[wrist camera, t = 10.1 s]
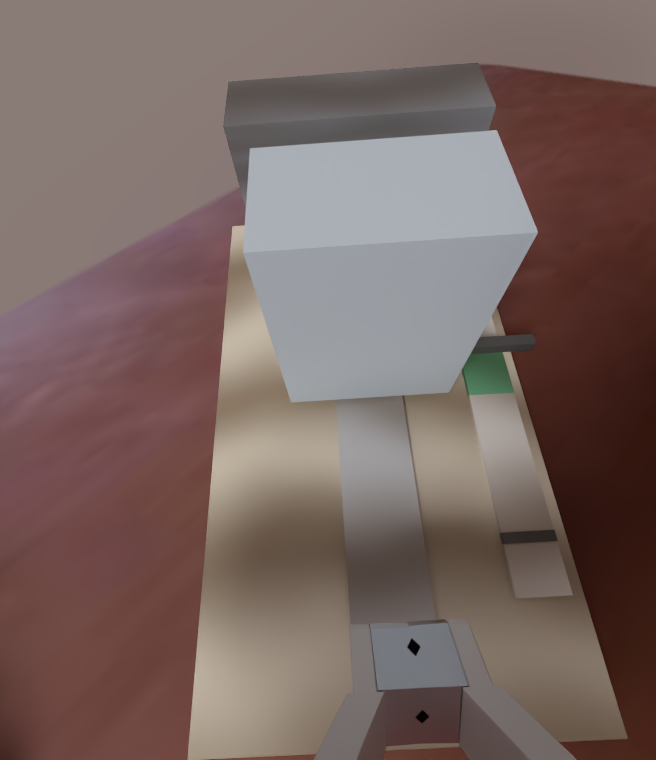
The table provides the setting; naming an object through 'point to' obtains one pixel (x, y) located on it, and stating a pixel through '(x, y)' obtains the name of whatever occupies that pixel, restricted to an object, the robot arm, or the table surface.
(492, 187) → the gauge slider
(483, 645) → the bench
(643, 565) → the table surface
